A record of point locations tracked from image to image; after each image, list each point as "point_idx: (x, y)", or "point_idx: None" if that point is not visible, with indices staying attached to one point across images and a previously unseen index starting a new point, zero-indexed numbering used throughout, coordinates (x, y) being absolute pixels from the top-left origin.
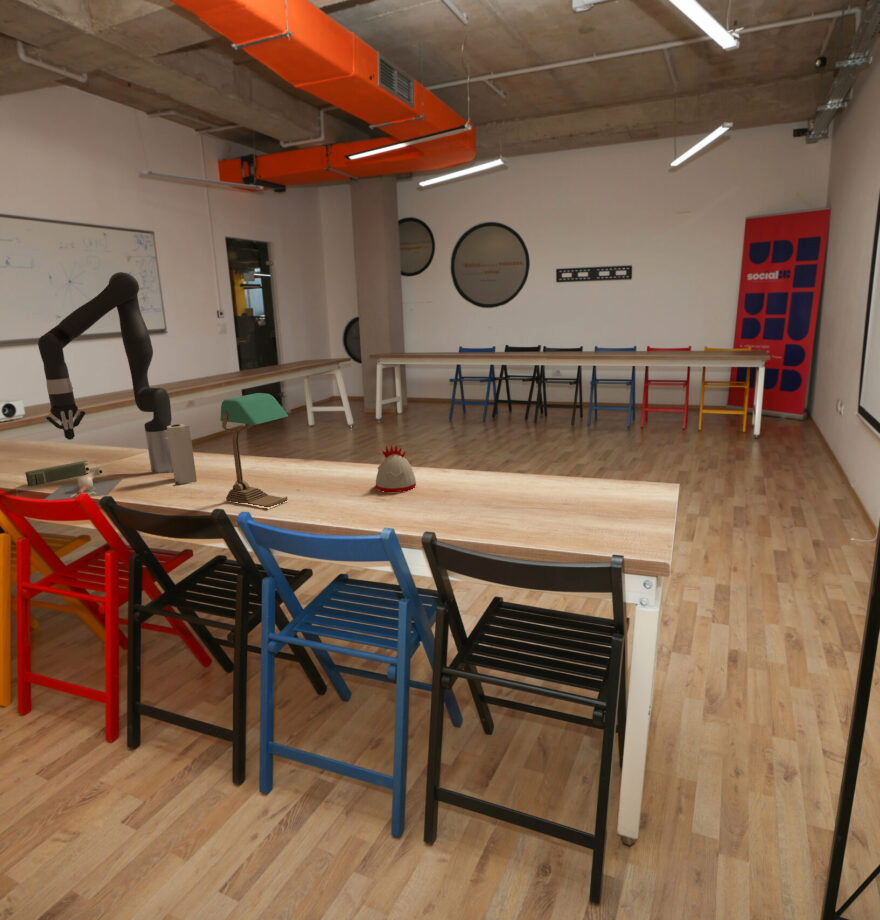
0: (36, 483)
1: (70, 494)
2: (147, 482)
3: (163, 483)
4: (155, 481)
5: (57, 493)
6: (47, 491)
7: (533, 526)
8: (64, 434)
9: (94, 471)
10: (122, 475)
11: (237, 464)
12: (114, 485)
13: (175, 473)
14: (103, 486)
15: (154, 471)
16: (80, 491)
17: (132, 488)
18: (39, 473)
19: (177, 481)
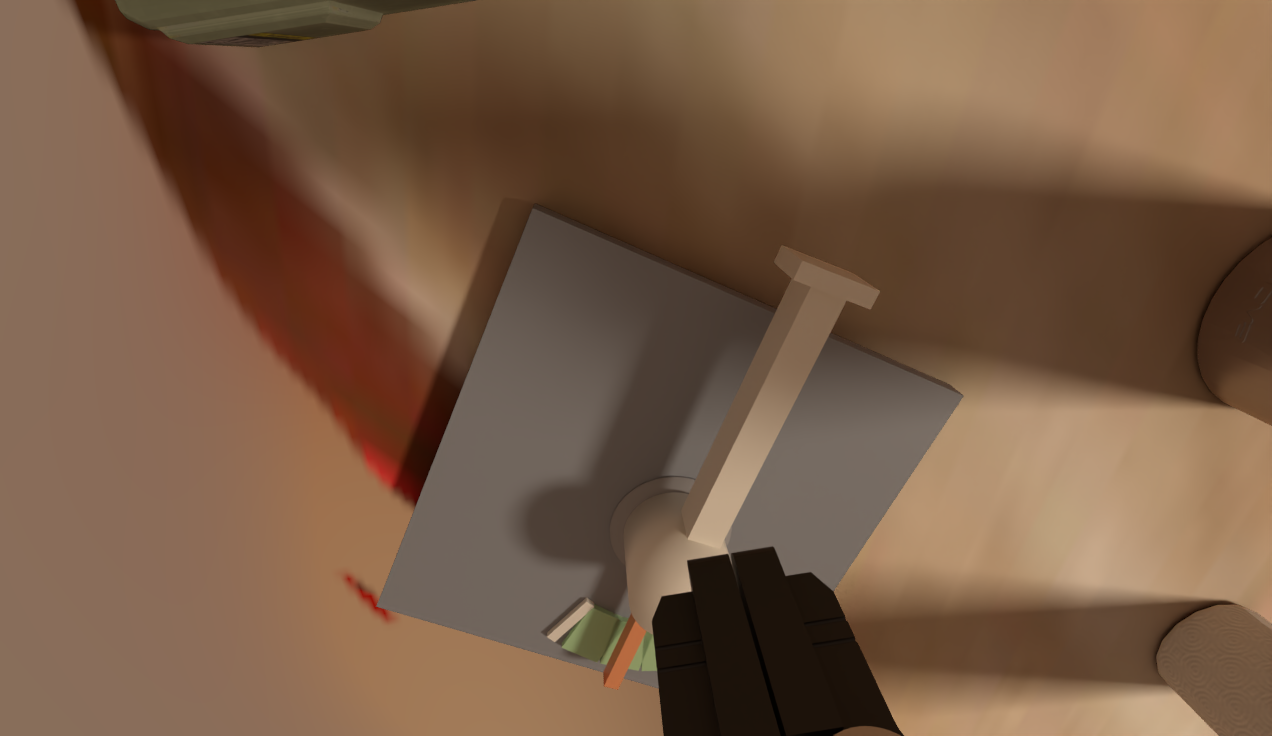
0: (281, 40)
1: (555, 573)
2: (1060, 511)
3: (1111, 599)
4: (1107, 522)
5: (473, 488)
6: (399, 247)
7: None
8: (658, 678)
9: (813, 361)
10: (1039, 141)
11: None
12: (852, 541)
13: (1214, 722)
14: (786, 515)
15: (1227, 377)
16: (614, 685)
17: (928, 588)
18: (286, 26)
19: (1168, 682)
